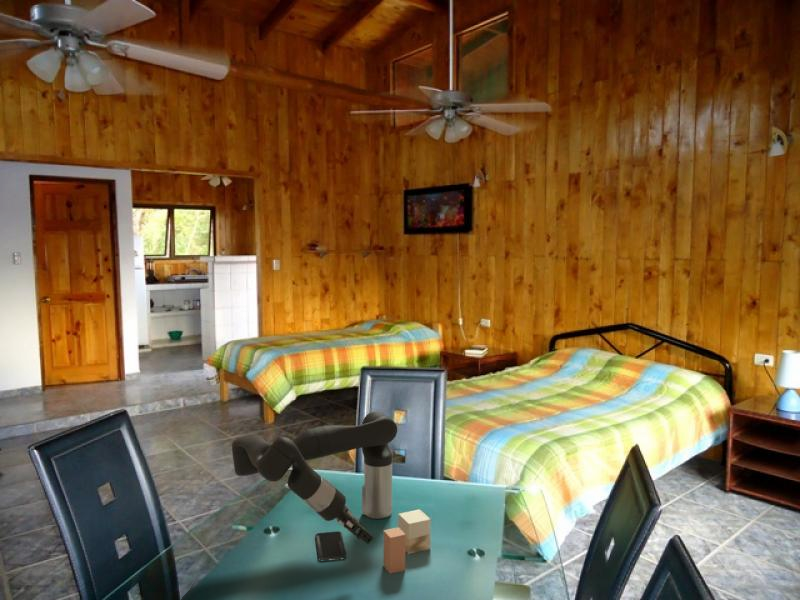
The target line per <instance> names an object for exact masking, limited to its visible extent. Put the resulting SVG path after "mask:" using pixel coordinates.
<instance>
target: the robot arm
mask: <svg viewBox="0 0 800 600" xmlns="http://www.w3.org/2000/svg"><path fill="white" fill-rule="evenodd" d="M397 434H398V426H397V423H396V422H395V421H394V420H393V419H392V418H391V417H389V416H387V415H386V414H384V413H382V412H380V411H371V412H369V413H367V414H366V415H365V416H364V418H363V420H362V423H361V424H357V425H340V424H338V425H337V424H335V425H333V424H327V425H321V426H316V427H312V428H306V429H305V430H302V431H301V432H300V433H299V434H298V435H297V436H295V438H294V439H290V438H289V437H286V436H279V437H276V438H275V439H274V441H273V442H268V441H266V440H265V439H264V438H263V436H262V435H259V434H248V435H244V436H239V437H237V438H235V439H234V440H233V442H232V445H231V452H232V460H233V468H234V473H235V475H236V476H238V477H239V476H240V477H246V476H253V475H256V474H260V475H261V477H262V478H264V479H265V480H267V481H268V482H273V483H274V482H278V481H280V480H281V479H283V477H284V476H285V475H286V474H287V472H288V470H290V468H291V472H290V474H289V475H288V479H287V487H288V488H289V490H291V491H292V492H293V493H294V494H295V495H297V496H298V497H299V498H300V499H301V500H302V501H303V502H304V503H305V504H306V505H307V506H308V507H309V508H310V509H312V510H313V511H314V512H315V513H316V514H317V515H318V516H320V517H321V518H322V519H323V520H325V521H327V522H331V521H333V520H336V521H337V522H338V524H340V526H343V527H344V529H346V530H347V531H348V532H349V533H351V534H353V536H355V537H356V539H357V540H361V541H363V542H364V543H366V544H367V545H369V544H371V543H372V541H373V540H374V536H373V535H372V534H371V533H370V532H369V531H368V530H367V529H365V527H364V526H362V522H361V521H360V520H359V519H358V518H357V517H356V516H355V515H354V514H353V512H352V510H351V509H349V507H347V506H346V504H347V497H346V495H345V494H343V493H342V492H341V491H340V490H338V488H337V487H335V486H334V485H333V484H332V483H331V482H329V481H328V480H327V479H325V478H324V477H322V476H321V475H320V474H319V473H318V472H316V471H315V470H314V468H312V467H311V466H310V465H309V464H308V462H307V461H310V460H311V461H312V460H315V459H320V458H325V457H328V456H331V455H332V456H333V455H336V454H340V453H345V452H348V451H352V450H356V449H361V452H362V455H363V464H364V465H363V476H364V477H363V484H362V486H361V515H364V516H366V517H368V518H370V519H378V520H379V519H385V518H388V517H390V516H392V514H393V453H392V450H391V449H390V447H389V443H391V442H392V441H393V440H394V439H395V438H396V437H397ZM291 466H292V467H291Z"/></svg>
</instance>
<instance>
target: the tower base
mask: <svg viewBox="0 0 800 600" xmlns="http://www.w3.org/2000/svg"><path fill="white" fill-rule="evenodd" d="M427 550H431V533H430V534H429V535H425V536H420V537H416V538H411V539H408V538H407V537H406V548H405V553H407V554H408V555H410V553H411V554H415V553H419V552H423V551H427Z"/></svg>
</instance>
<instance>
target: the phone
mask: <svg viewBox="0 0 800 600" xmlns="http://www.w3.org/2000/svg"><path fill="white" fill-rule="evenodd" d="M315 543H316V552H317V551H318V552H317V559H320V560H329V559H341V558H345V557H346V558H347V552H346V548H345V543H344V538H343V534H342V532H341V531H328V532H317V533H316V534H315ZM346 558H345V559H346Z"/></svg>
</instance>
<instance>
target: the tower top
mask: <svg viewBox="0 0 800 600" xmlns="http://www.w3.org/2000/svg"><path fill="white" fill-rule="evenodd" d="M397 517H398V522H397V523H398V526H397V527H399V528H400V529H401V530H402V531H403V532H404V533H405V534H406V537H407V538H408V539H411V538H416V537H420V536H425V535H429V534H430V535H431V526H432V525H431V523H432V522H431V521H432V520H431V518H430V517H429V516H428V515H427V514H425V513H424V512H423V511H422V510H421V509H420V508H419V509H415V510H411V511H410V510H409V511H405V512H400V513H398V516H397Z"/></svg>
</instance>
